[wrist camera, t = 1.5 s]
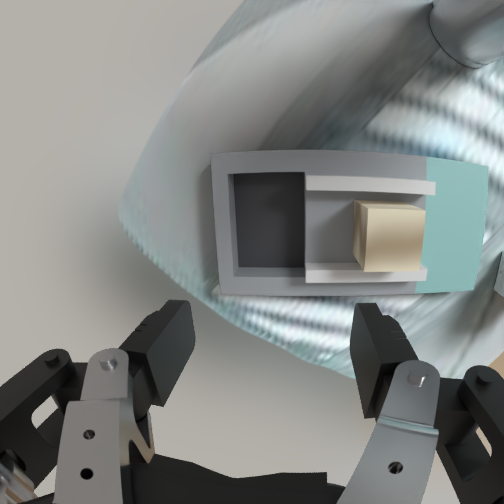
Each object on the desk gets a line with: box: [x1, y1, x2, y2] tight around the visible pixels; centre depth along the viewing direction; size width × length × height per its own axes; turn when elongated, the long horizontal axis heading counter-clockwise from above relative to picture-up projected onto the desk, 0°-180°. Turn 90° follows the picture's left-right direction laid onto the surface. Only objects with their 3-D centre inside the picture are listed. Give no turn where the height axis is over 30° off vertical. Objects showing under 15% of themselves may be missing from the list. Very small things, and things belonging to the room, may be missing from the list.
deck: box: [210, 150, 488, 296], centre depth 25 cm, size 14×29×5 cm, turn 93°
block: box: [352, 200, 426, 272], centre depth 22 cm, size 5×5×5 cm
